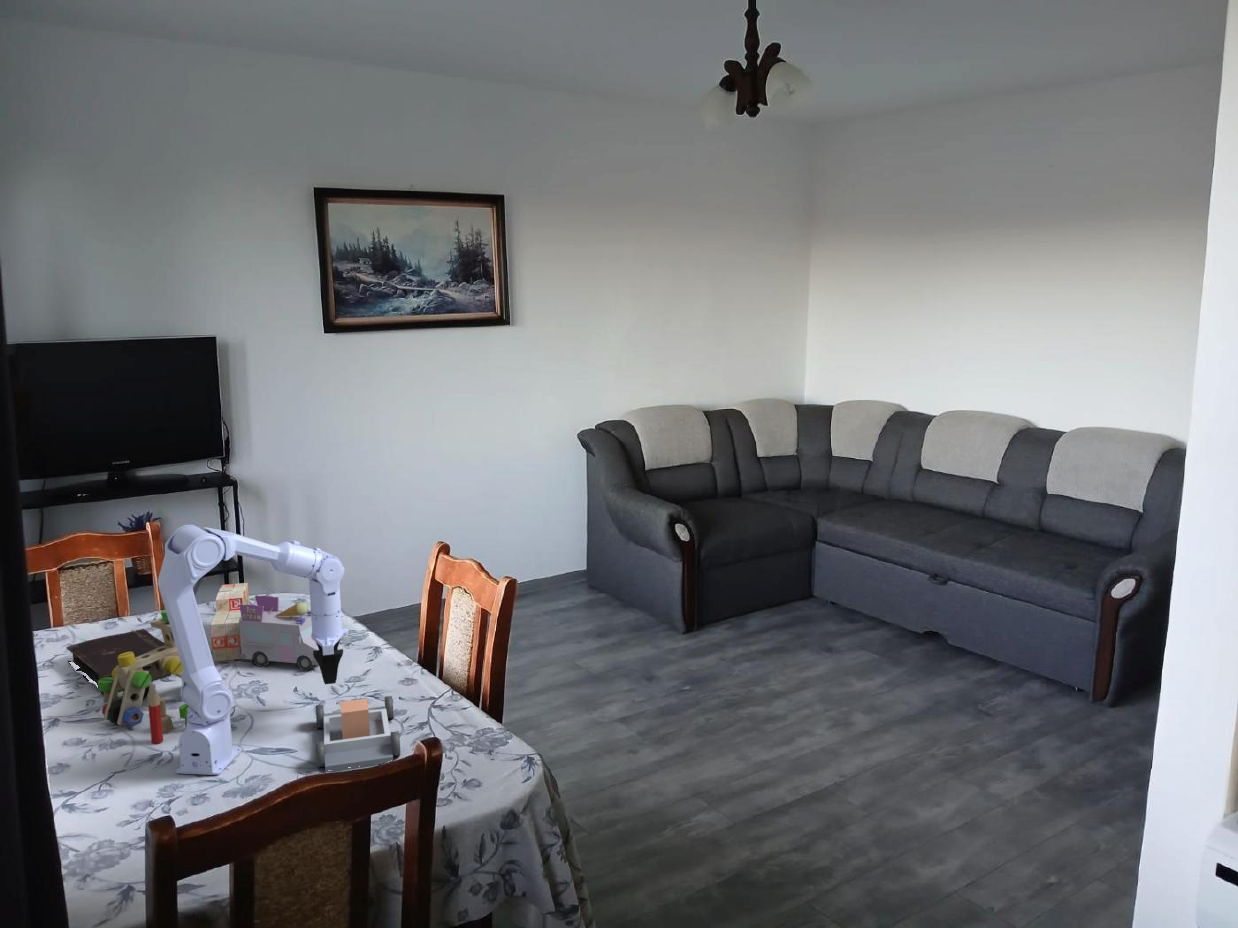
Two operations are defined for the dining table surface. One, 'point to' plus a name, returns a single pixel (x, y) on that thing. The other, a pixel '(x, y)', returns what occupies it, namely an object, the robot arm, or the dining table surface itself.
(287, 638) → the toy vehicle
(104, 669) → the diary
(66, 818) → the dining table surface
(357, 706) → the light orange block
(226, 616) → the stack of blocks
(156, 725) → the toy construction set
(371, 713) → the chassis
